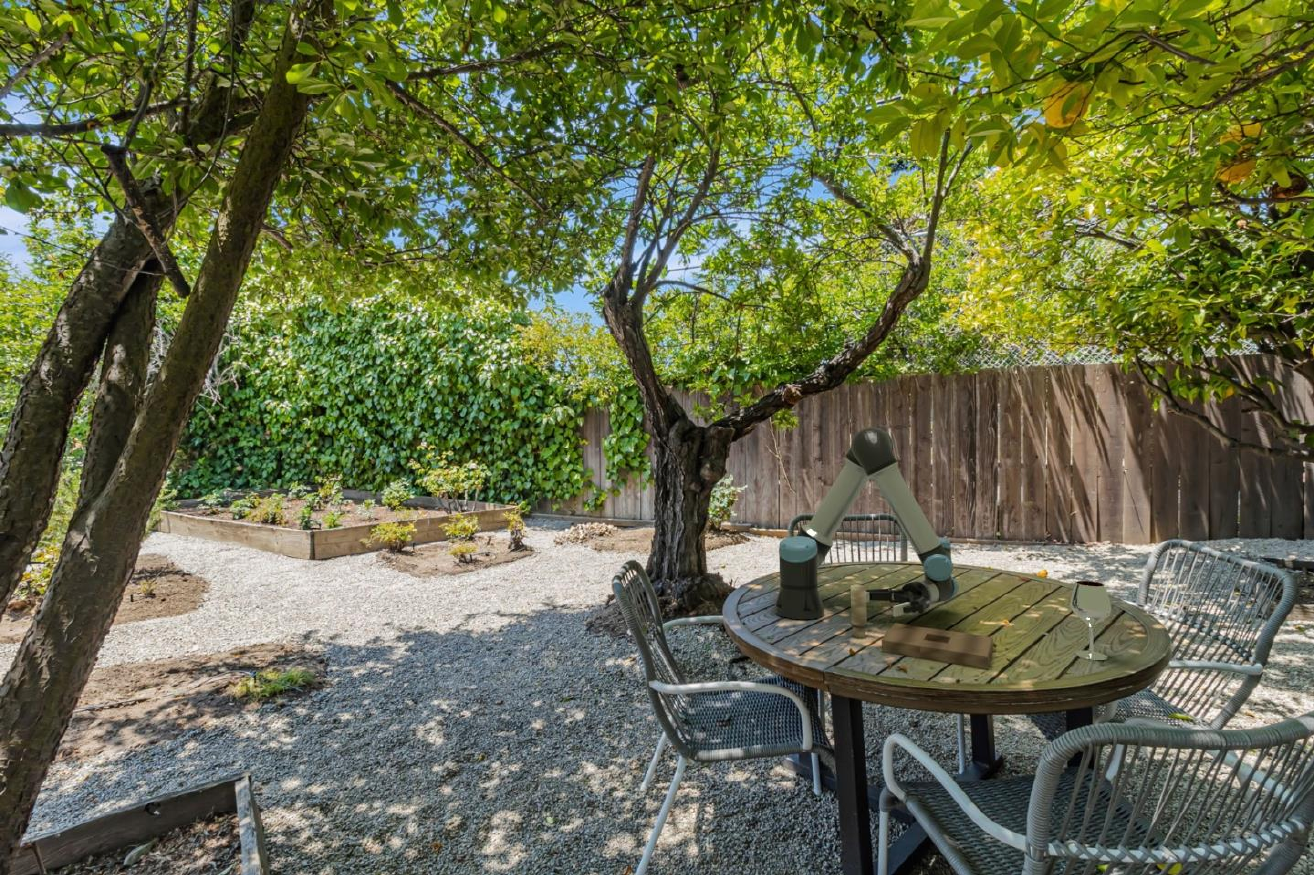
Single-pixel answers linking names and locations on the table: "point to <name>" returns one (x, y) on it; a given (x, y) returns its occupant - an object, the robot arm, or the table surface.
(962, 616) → the table surface
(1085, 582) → the wineglass
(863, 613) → the peg
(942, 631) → the board
